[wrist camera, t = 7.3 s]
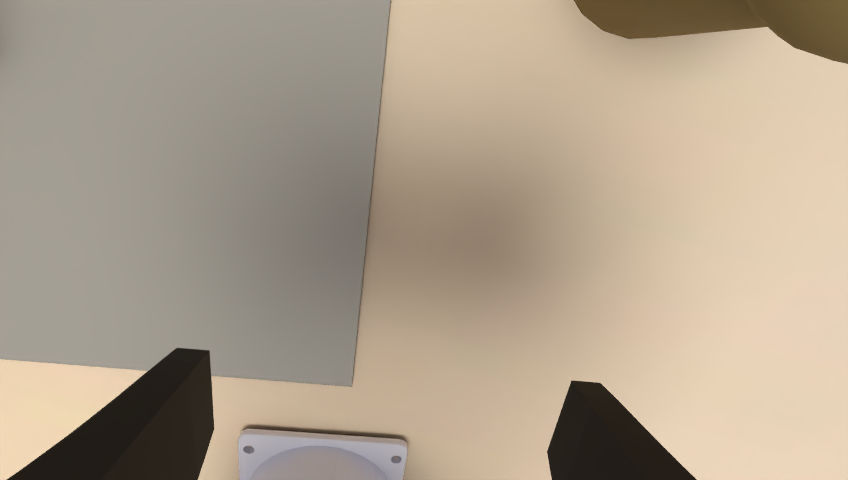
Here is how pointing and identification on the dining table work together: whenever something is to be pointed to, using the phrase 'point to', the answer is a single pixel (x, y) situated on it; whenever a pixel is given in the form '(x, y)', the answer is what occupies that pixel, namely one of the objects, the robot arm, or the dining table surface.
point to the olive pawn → (729, 20)
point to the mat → (188, 181)
